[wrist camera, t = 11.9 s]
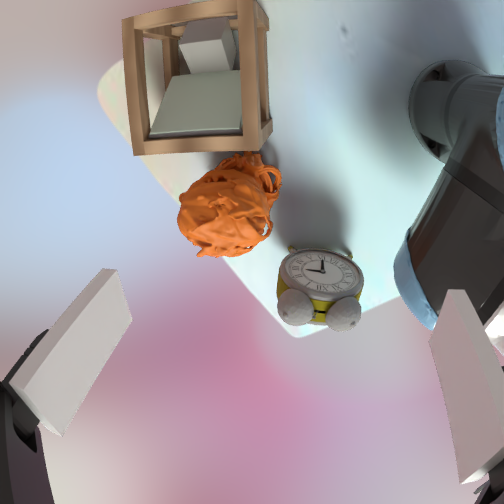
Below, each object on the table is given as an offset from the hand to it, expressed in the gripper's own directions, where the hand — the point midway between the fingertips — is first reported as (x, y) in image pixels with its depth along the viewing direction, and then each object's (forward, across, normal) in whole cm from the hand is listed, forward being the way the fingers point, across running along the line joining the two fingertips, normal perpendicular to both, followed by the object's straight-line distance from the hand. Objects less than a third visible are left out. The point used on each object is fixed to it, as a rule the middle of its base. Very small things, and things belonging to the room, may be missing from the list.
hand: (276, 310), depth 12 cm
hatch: (+27, +11, -6) cm, 30 cm away
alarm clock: (+35, -3, +19) cm, 40 cm away
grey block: (+33, +11, -11) cm, 36 cm away
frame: (+35, +11, -9) cm, 37 cm away
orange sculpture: (+35, +8, +6) cm, 36 cm away
